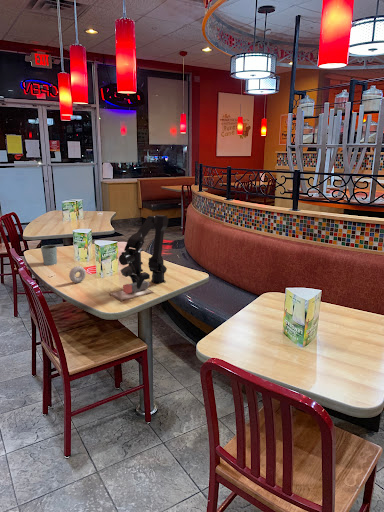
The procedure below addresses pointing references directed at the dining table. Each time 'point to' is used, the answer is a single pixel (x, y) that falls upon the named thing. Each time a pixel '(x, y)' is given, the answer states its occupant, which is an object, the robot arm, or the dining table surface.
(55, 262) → the gray cup
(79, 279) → the donut
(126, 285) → the marker
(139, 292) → the picture frame
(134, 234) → the robot arm
